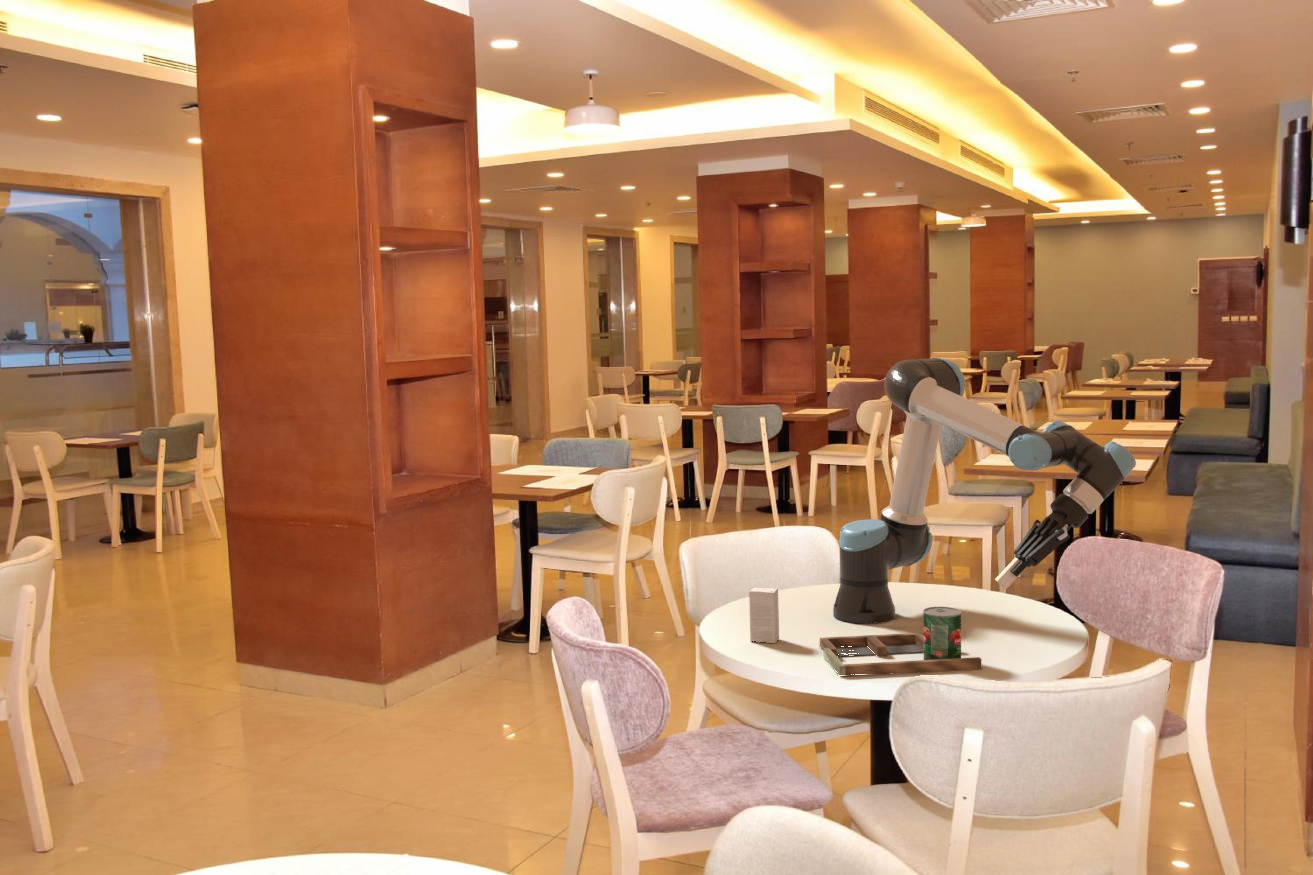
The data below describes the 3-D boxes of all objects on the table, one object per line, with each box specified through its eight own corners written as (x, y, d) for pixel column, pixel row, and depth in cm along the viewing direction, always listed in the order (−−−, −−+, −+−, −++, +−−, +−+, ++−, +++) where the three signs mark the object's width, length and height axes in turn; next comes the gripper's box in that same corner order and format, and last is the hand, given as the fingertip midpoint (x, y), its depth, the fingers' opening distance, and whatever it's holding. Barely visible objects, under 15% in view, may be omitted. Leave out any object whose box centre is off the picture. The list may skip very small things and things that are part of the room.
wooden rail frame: (944, 640, 254) (944, 631, 254) (981, 669, 233) (981, 658, 233) (814, 647, 251) (814, 637, 251) (839, 676, 230) (839, 666, 230)
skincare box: (779, 639, 259) (778, 588, 258) (775, 643, 255) (774, 592, 254) (754, 637, 261) (753, 586, 260) (749, 642, 257) (748, 591, 256)
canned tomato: (966, 666, 235) (966, 614, 234) (930, 667, 235) (930, 616, 234) (953, 655, 243) (954, 605, 242) (918, 656, 243) (918, 607, 241)
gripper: (1102, 520, 233) (1025, 602, 233) (1073, 511, 246) (999, 589, 246) (1078, 496, 232) (1000, 579, 232) (1050, 488, 245) (976, 566, 245)
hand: (1000, 584), depth 239 cm, fingers closed
